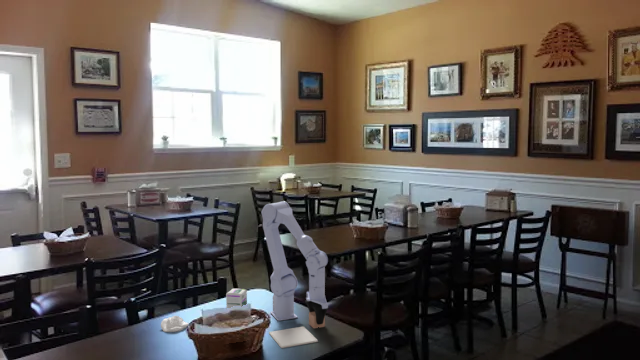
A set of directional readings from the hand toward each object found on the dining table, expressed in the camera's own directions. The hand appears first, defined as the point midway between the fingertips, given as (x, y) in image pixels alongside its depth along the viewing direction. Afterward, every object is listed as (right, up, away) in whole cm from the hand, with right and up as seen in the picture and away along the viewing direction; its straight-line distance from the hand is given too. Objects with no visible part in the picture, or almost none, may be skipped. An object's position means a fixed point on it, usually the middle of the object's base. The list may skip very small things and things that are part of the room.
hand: (316, 321), depth 187 cm
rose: (-52, -2, -2) cm, 52 cm away
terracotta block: (0, -2, 0) cm, 2 cm away
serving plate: (-8, -3, -11) cm, 14 cm away
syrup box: (-28, -2, -5) cm, 29 cm away
